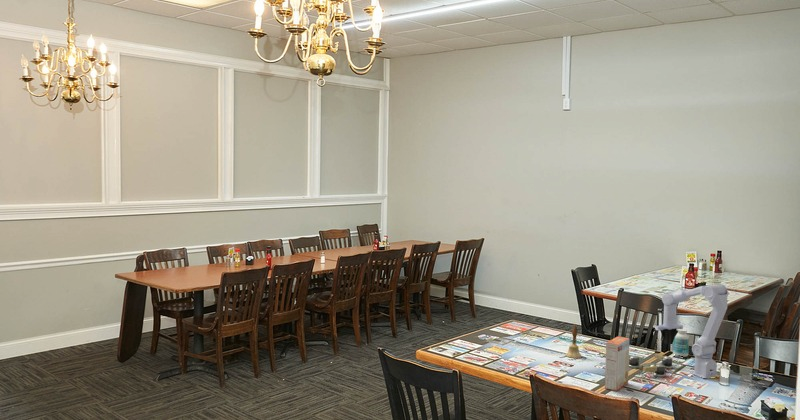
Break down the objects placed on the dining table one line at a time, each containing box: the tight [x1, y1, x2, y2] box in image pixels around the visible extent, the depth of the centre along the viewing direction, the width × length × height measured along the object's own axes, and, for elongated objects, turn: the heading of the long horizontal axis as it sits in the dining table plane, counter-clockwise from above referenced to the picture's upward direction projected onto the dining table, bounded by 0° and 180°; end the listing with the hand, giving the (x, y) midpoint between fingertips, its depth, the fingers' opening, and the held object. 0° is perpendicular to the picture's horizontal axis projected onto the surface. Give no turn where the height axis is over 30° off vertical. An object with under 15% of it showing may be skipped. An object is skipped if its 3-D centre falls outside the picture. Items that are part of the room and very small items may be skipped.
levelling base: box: [629, 362, 674, 378], centre depth 309 cm, size 20×21×2 cm
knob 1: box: [629, 355, 640, 366], centre depth 315 cm, size 11×5×4 cm, turn 65°
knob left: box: [642, 363, 666, 374], centre depth 300 cm, size 11×5×4 cm, turn 105°
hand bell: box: [564, 325, 583, 359], centre depth 329 cm, size 8×8×16 cm
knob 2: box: [654, 353, 673, 366], centre depth 317 cm, size 11×5×4 cm, turn 15°
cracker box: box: [604, 336, 630, 392], centre depth 285 cm, size 14×6×21 cm, turn 141°
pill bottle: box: [672, 328, 690, 358], centre depth 335 cm, size 8×7×14 cm
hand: (668, 343), depth 320 cm, fingers closed
